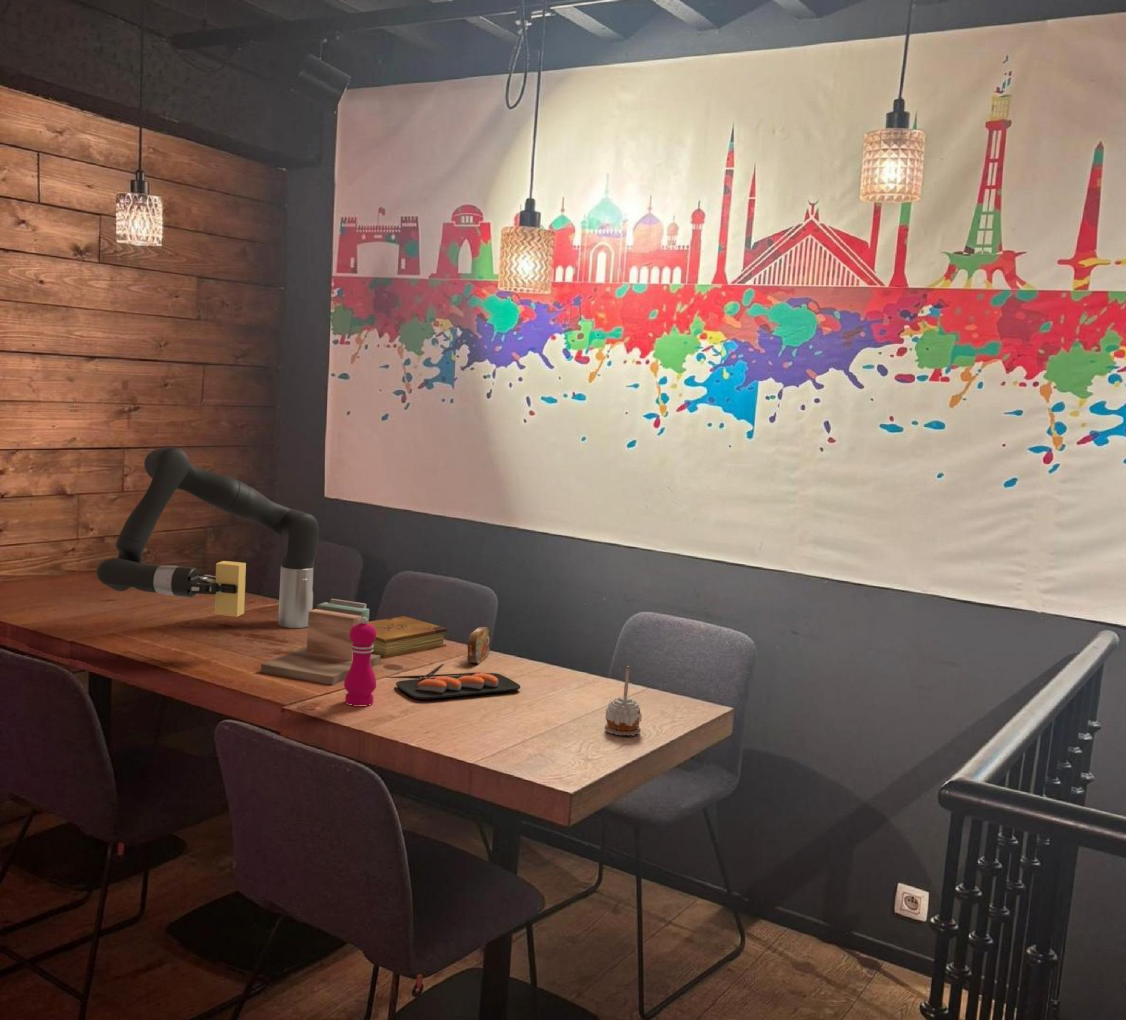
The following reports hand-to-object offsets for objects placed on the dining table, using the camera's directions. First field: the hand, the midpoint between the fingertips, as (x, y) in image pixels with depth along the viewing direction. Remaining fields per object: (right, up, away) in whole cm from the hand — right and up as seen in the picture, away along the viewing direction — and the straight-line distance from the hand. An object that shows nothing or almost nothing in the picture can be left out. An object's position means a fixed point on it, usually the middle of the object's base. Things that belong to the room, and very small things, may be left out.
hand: (240, 587), depth 273 cm
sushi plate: (+52, -24, -3) cm, 57 cm away
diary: (+34, -19, +29) cm, 48 cm away
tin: (+58, -21, +20) cm, 65 cm away
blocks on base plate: (+20, -20, +1) cm, 29 cm away
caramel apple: (+94, -30, -32) cm, 104 cm away
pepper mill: (+35, -25, -26) cm, 50 cm away
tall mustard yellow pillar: (-3, -7, +1) cm, 8 cm away
